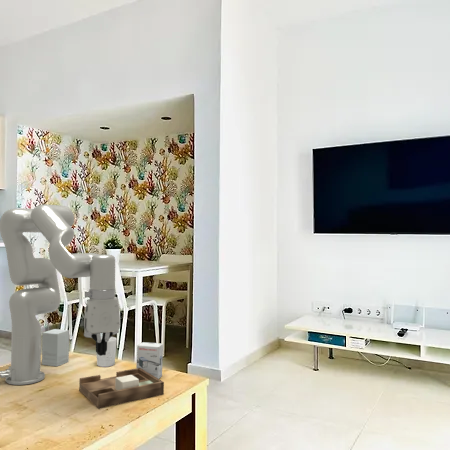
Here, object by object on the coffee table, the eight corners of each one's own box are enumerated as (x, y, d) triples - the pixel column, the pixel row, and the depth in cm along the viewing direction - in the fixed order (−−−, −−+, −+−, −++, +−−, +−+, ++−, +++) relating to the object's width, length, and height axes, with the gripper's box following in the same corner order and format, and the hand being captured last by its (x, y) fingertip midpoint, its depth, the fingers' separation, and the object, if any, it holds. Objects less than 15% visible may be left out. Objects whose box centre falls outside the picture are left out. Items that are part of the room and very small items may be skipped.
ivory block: (122, 393, 139) (122, 382, 139) (115, 388, 143) (115, 377, 143) (138, 390, 142) (138, 379, 142) (131, 385, 146) (131, 374, 146)
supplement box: (69, 361, 179) (70, 330, 179) (56, 367, 172) (57, 333, 172) (54, 359, 182) (54, 328, 182) (41, 364, 175) (41, 332, 175)
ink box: (135, 378, 161) (136, 345, 161) (140, 374, 166) (140, 342, 166) (158, 380, 160) (159, 346, 160) (162, 375, 165) (163, 343, 165)
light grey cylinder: (97, 368, 171) (98, 342, 172) (93, 362, 178) (94, 337, 179) (118, 366, 175) (118, 340, 175) (113, 360, 182) (114, 335, 182)
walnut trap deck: (99, 408, 133) (99, 395, 133) (79, 390, 148) (79, 378, 148) (163, 394, 146) (163, 382, 146) (139, 379, 160) (139, 367, 160)
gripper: (82, 298, 131) (81, 361, 131) (130, 294, 140) (129, 353, 140) (74, 295, 137) (73, 355, 137) (120, 291, 146) (119, 348, 146)
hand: (101, 354), depth 138 cm, fingers closed
